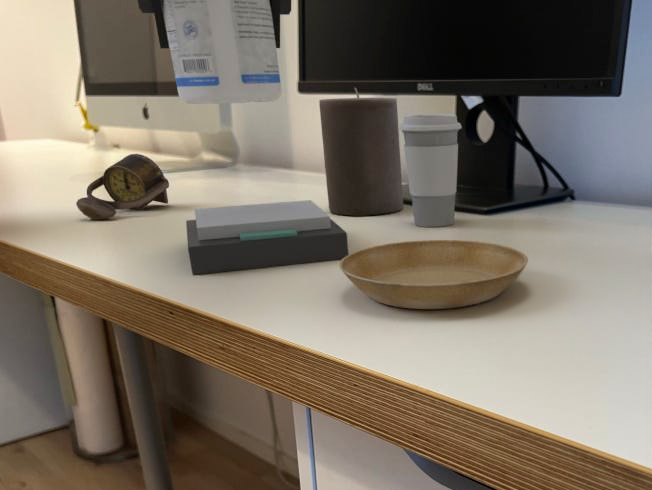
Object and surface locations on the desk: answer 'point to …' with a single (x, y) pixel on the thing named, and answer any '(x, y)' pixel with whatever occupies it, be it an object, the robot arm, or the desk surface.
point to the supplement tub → (223, 50)
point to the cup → (432, 166)
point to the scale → (262, 236)
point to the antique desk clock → (126, 187)
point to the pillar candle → (362, 155)
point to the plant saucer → (433, 272)
